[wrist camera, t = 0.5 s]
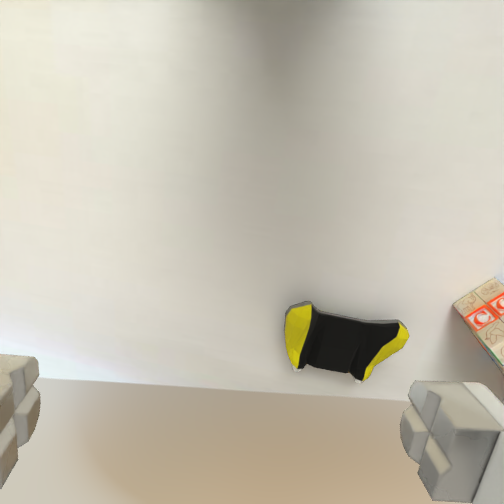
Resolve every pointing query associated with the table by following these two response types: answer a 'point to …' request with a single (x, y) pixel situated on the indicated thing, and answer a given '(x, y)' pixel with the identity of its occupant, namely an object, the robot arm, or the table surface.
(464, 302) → the stack of blocks
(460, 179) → the table surface
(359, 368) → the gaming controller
